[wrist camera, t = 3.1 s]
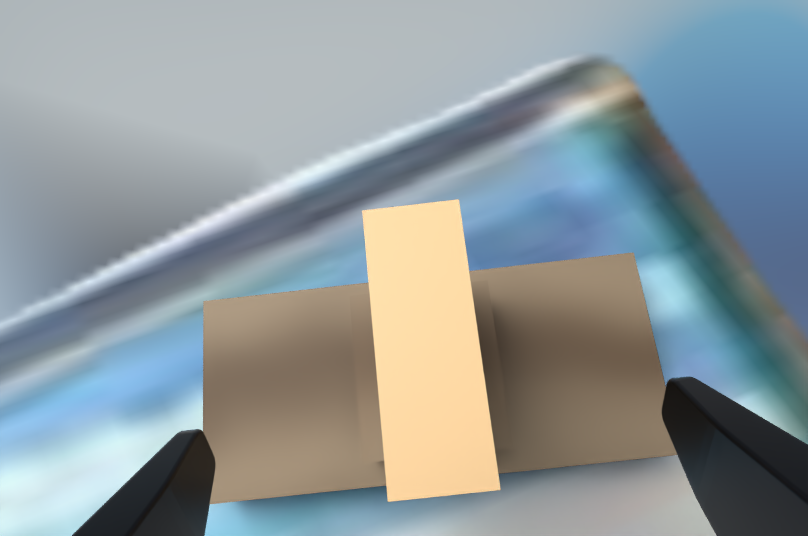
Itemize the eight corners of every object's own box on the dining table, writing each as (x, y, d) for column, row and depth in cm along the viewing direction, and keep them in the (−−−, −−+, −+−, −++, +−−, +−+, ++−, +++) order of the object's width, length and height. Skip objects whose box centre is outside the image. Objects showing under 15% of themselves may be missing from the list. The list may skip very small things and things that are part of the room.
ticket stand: (649, 448, 19) (735, 464, 14) (231, 492, 19) (155, 525, 14) (609, 270, 21) (671, 223, 15) (229, 313, 21) (162, 282, 16)
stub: (472, 454, 14) (503, 489, 8) (403, 461, 14) (384, 502, 8) (449, 278, 15) (461, 198, 9) (386, 285, 15) (359, 211, 9)
